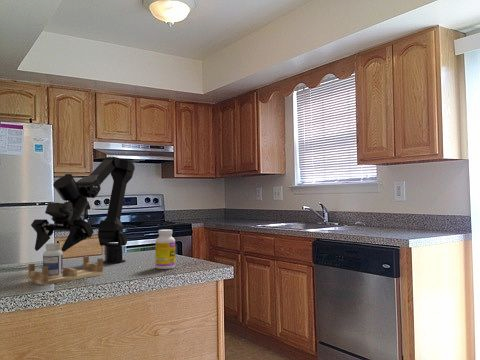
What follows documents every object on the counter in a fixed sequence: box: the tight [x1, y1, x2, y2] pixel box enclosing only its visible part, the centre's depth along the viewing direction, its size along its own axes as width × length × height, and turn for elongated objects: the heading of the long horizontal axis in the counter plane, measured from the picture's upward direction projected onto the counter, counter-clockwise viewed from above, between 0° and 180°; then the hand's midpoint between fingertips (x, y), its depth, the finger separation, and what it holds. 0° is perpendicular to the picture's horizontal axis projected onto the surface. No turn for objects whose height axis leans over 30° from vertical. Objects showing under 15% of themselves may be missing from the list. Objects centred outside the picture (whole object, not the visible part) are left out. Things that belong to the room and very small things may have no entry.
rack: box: [28, 255, 104, 286], centre depth 130 cm, size 9×19×5 cm, turn 142°
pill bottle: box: [42, 242, 64, 278], centre depth 126 cm, size 5×5×10 cm
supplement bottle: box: [155, 229, 176, 270], centre depth 145 cm, size 7×7×13 cm
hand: (49, 250), depth 125 cm, fingers open, 9 cm apart
